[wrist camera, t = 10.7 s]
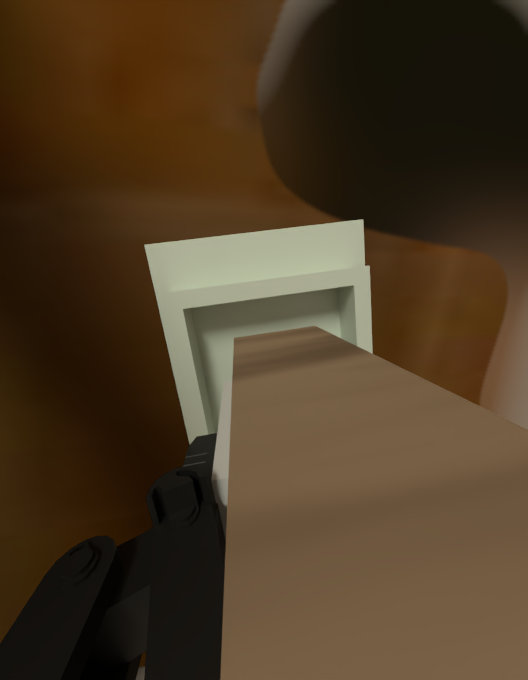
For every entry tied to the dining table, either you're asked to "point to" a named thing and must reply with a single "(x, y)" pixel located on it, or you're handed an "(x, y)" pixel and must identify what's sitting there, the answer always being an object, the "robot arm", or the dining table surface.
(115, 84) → the dining table surface
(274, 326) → the holder plate
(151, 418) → the dining table surface
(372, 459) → the wooden square post
